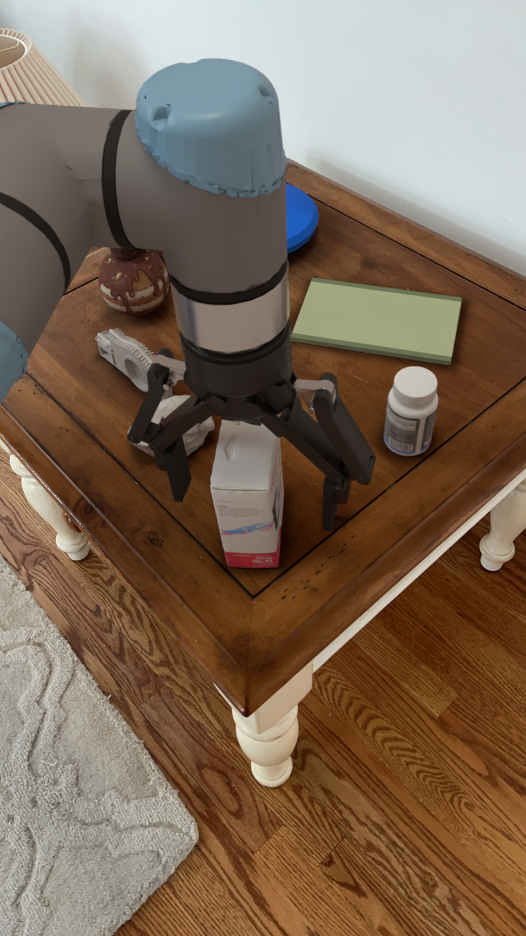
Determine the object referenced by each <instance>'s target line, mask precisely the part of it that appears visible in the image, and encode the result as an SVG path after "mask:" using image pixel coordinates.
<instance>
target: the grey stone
mask: <svg viewBox="0 0 526 936" xmlns="http://www.w3.org/2000/svg"><path fill="white" fill-rule="evenodd" d="M190 396H191V395H189V394H183V395H173V397H170V398H167V399H165V400H163V401H161V402H160V404H159V406H158V408H157V410H156V412H155V414H154V416H153V418H152V420H151V422H154V423H156V424H159V422H160V420H161V418H162V416H163V418H165V417H167V416H168V415H169V414H170V413H171V412H173V411H174V410H175V409H176V408H177V407H178V406H180V405H181V404H182V403H183V402H184V401H186V400H187V399H188V398H189V397H190ZM215 425H216V424H215V421H214V419H213V415H212V416H211V417H209V418H208V419H207V420H206V421H204V422H203V423H202V424H199V423H198V424H196V425H195V426H194V427H192V428H191V429H190V430H189V431H187V432H186V433H185V434H183V435H182V436H183V441H184V445H185V450H186V455H187V457H189V456H190V455H191V454H192V453H194V452H195V451H196V450H198V449H199V448H200V447H201V446H203V444H204V443H205V439H206V437H207V436H208V435H209V432H211V431H213V430H215V427H216V426H215ZM130 429H131V426H130V427H129V429H128V430H127V434H128V433H129V431H130ZM128 442H129V443H130V444H131V445H132V446H135V447H136V448H137V449H139V450H141V451H142V452H144V453H145V454H147V455H150V456H151V457H153V458H155V456H154V452H153V451H152V450H151V449H150V448H149V445H148V444H147V443H145V442H142V441H141V442H140V443H139V444H134V443H132V442H130V441H129V440H128Z"/></svg>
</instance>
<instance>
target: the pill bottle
mask: <svg viewBox="0 0 526 936" xmlns="http://www.w3.org/2000/svg"><path fill="white" fill-rule="evenodd" d="M437 391H438V379H437V376H436V375H435V374H434V372H433V371H431V370H429V369H427V368H425V367H422V366H416V365H415V366H414V365H413V366H412V365H411V366H407V367H404V368H402V369H400V370H399V371H398V372H396V374H395V375H394V379H393V385H392V387H391V389H390V390H389V392H388V395H387V401H386V411H385V419H384V428H383V429H384V430H383V441H384V443H385V446H386V447H387V448H388V449H389V450H390V451H391V452H393V453H394V454H396V455H399V456H403V457H413V456H417V455H421V454H422V453H424V452H426V451H427V450H428V448H429V447H430V444H431V442H432V437H433V433H434V427H435V423H436V417H437V412H438V406H439V396H438V393H437Z"/></svg>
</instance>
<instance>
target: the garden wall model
mask: <svg viewBox="0 0 526 936" xmlns="http://www.w3.org/2000/svg"><path fill="white" fill-rule="evenodd" d="M94 340H95V341H96V342H97V343H96V345H97V347H98V350H99V354H100V356H101V357H103V358H104V359H105V360H106V361H108V362H109V363H110V364H111V365H113V366H114V367H116V369H118V370H119V371H120V372H122V373H123V374H124V375H125V376H126V377H128V378H129V379H130V381H131V382H132V383H133V384H134V385H135V386H136V387H137V389H139V390H140V391H142V392H144V393H147V392H148V381H147V371H148V369H149V367H150V366H151V364H152V362H153V360H154V358H155V356H156V354H154V352H153V351H152V350H149V347H146V344H143V342H142V343H141V342H140V341H139V340H137V339H136V338H133V337H130V336H128V335H127V334H126V333H124V332H123V331H122V330H120V328H114V329H113V328H110V329H108V331H107V330H105V331H102V332H98V333H97V335H96V336H95V338H94ZM173 396H174V394H173V389H172V387H170V389H169V390H166V391H165V394H164V396H163V398H162V400H161V401H163V400H165V399H167V398H170V397H173Z"/></svg>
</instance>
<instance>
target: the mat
mask: <svg viewBox="0 0 526 936" xmlns="http://www.w3.org/2000/svg"><path fill="white" fill-rule="evenodd" d="M462 302H463V297H460V296H453V295H445V294H438V293H431V292H424V291H416V290H409V289H402V288H394V287H386V286H378V285H371V284H365V283H357V282H350V281H342V280H335V279H327V278H319V277H311V280H310V283H309V286H308V289H307V291H306V294H305V297H304V299H303V302H302V305H301V307H300V311H299V313H298V315H297V319H296V322H295V324H294V327H293V330H292V331H291V342H293V343H300V344H305V345H306V344H307V345H314V346H319V347H327V348H334V349H339V350H347V351H351V352H352V351H353V352H360V353H366V354H373V355H379V356H383V357H385V356H386V357H392V358H399V359H404V360H410V361H411V360H412V361H419V362H423V363H430V364H438V365H445V366H451V364H452V359H453V353H454V348H455V342H456V337H457V330H458V324H459V320H460V313H461V308H462Z"/></svg>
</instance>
